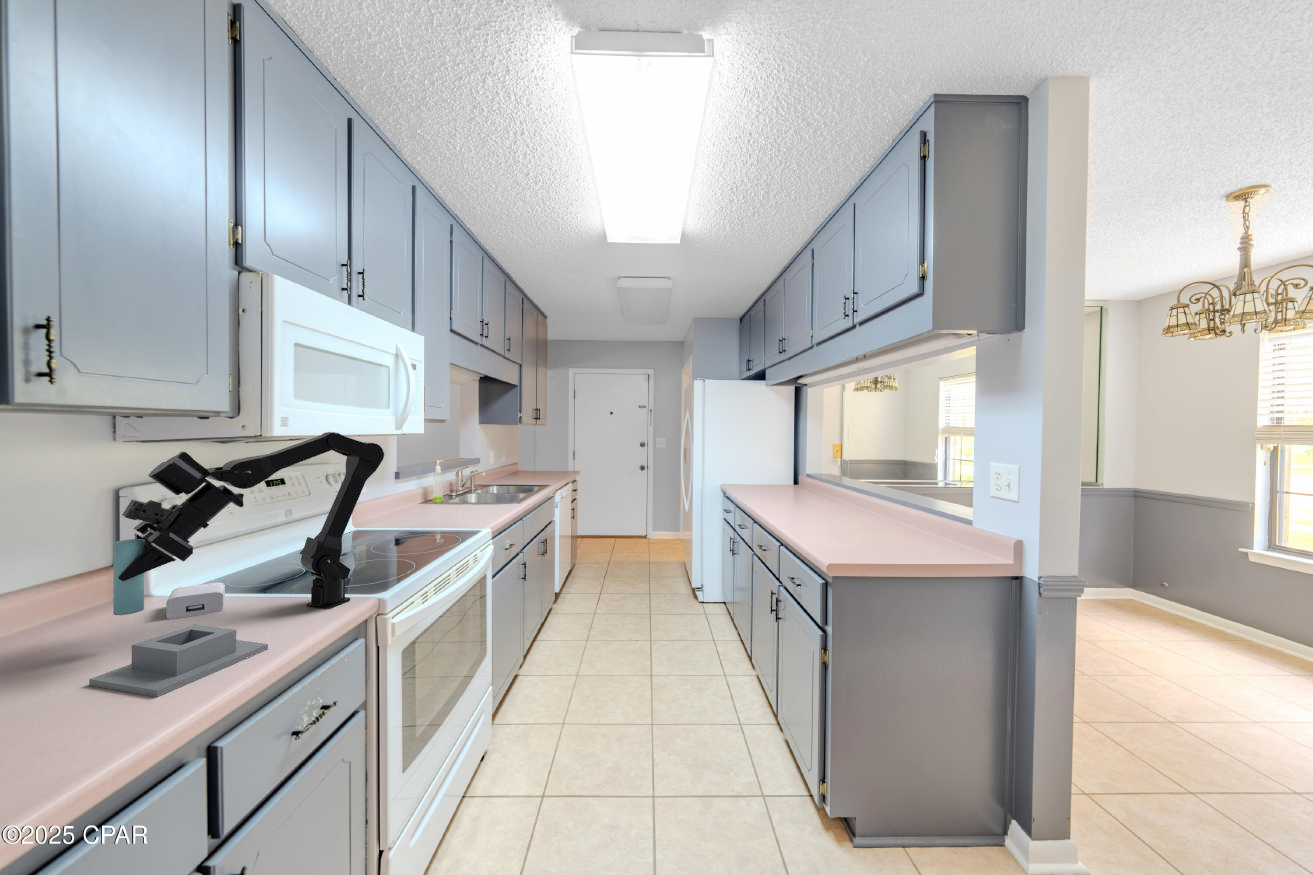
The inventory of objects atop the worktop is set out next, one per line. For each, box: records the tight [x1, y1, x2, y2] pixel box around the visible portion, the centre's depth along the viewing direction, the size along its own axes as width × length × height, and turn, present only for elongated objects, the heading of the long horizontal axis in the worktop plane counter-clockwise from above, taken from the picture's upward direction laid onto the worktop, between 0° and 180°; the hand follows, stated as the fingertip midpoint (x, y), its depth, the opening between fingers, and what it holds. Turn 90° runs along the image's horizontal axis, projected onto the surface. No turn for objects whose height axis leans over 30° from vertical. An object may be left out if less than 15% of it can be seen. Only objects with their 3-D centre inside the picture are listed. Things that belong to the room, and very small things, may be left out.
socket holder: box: [88, 623, 269, 698], centre depth 90 cm, size 18×14×5 cm
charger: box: [165, 582, 226, 620], centre depth 120 cm, size 5×9×15 cm
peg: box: [112, 538, 145, 616], centre depth 96 cm, size 4×4×13 cm
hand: (118, 577), depth 95 cm, fingers closed on peg, 4 cm apart
